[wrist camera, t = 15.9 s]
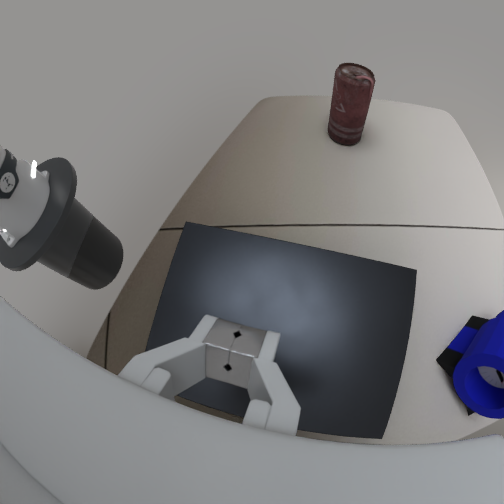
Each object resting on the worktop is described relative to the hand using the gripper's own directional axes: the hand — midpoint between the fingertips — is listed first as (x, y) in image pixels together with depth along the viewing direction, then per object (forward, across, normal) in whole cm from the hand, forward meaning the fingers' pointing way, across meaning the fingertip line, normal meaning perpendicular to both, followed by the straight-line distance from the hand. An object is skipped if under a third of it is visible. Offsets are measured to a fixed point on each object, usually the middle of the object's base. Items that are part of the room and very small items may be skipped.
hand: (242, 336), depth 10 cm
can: (+42, -5, -10) cm, 44 cm away
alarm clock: (+18, -31, +14) cm, 39 cm away
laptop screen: (+16, -1, +13) cm, 20 cm away
